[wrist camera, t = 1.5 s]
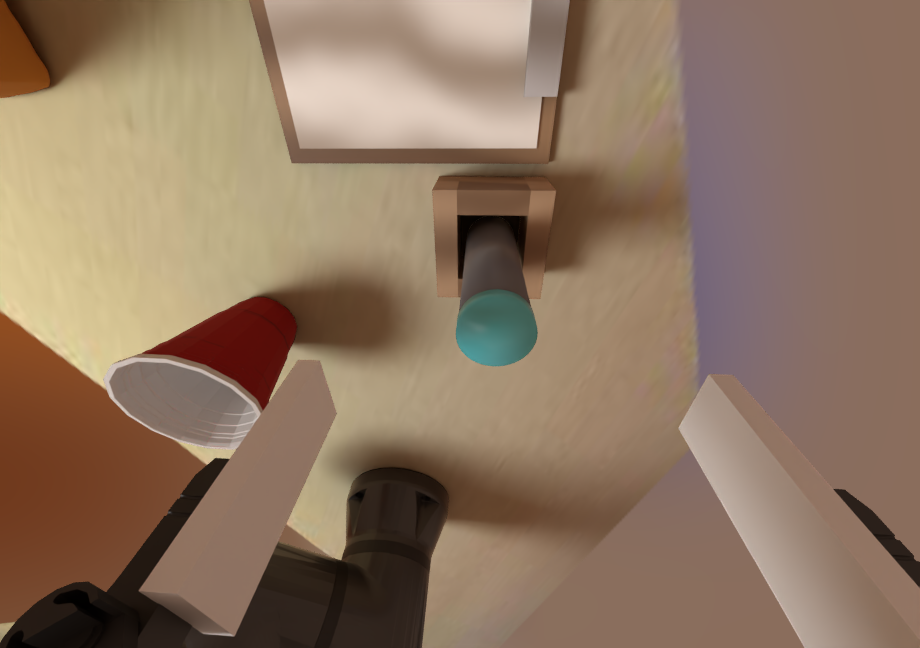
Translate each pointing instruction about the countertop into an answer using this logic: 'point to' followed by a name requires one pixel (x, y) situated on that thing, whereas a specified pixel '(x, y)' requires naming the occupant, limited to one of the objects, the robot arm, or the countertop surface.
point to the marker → (494, 297)
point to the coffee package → (18, 59)
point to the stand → (492, 198)
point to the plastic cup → (208, 375)
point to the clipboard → (414, 78)
